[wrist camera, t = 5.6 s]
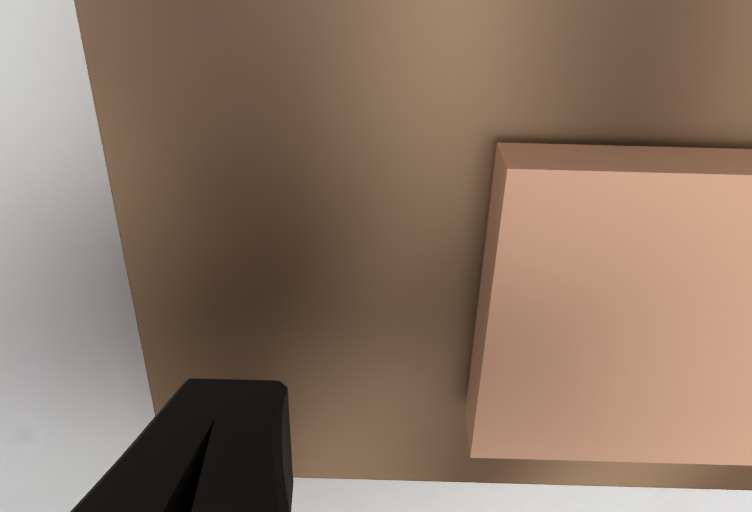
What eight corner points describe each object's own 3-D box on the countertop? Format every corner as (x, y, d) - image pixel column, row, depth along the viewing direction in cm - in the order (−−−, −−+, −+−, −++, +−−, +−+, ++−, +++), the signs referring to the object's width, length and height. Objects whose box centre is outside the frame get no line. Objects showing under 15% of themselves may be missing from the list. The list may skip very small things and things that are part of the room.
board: (180, 435, 17) (166, 473, 16) (96, -48, 11) (66, -39, 10) (825, 454, 17) (854, 493, 15) (1064, -23, 11) (1134, -13, 10)
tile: (470, 457, 13) (781, 466, 13) (506, 168, 10) (913, 179, 10) (462, 400, 14) (743, 408, 14) (492, 132, 11) (849, 141, 11)
